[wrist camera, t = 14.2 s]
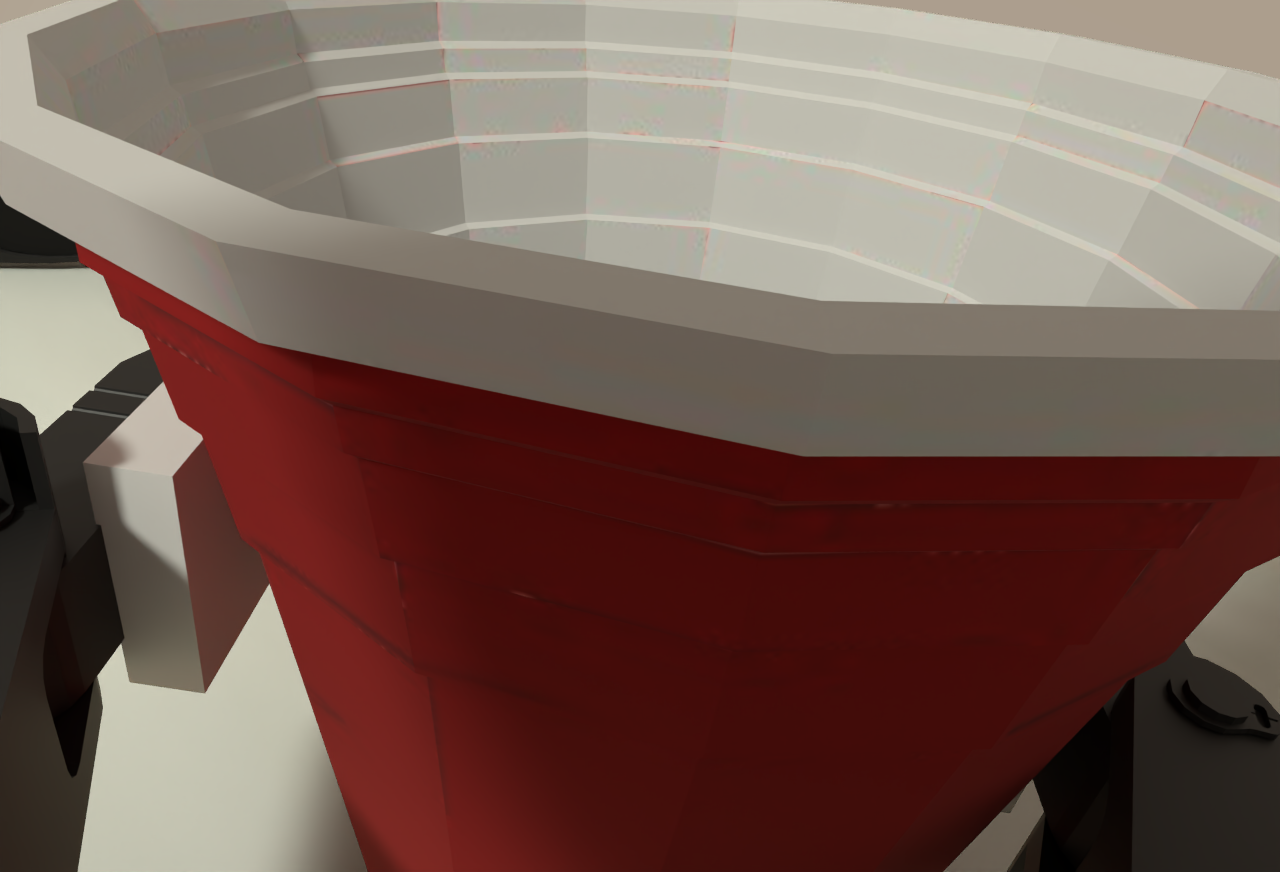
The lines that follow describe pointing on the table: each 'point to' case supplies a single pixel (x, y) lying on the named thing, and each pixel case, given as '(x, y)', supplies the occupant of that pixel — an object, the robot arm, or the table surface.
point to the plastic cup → (686, 391)
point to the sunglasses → (31, 240)
